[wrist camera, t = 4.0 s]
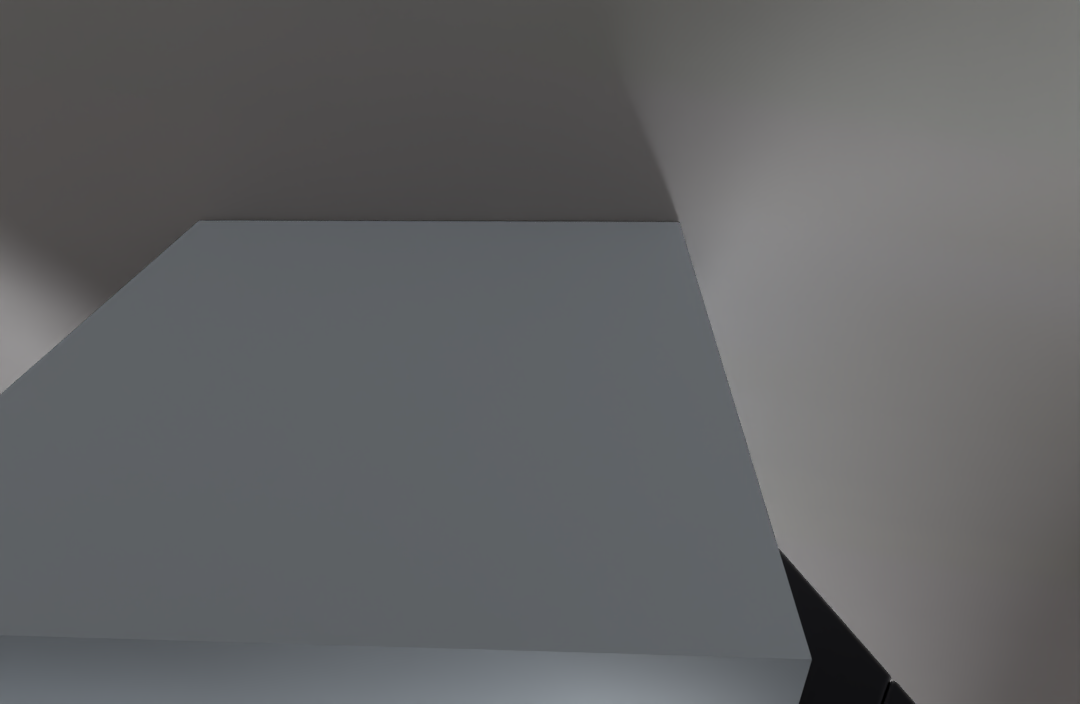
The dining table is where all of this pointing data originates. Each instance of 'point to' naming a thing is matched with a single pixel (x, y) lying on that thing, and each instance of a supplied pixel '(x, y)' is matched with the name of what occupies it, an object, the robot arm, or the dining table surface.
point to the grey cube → (392, 479)
